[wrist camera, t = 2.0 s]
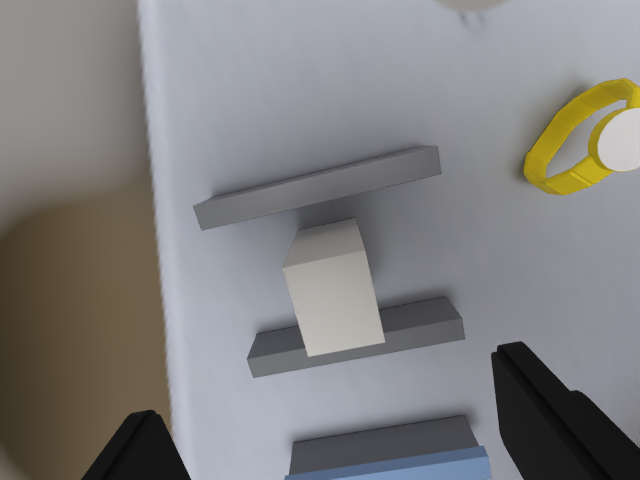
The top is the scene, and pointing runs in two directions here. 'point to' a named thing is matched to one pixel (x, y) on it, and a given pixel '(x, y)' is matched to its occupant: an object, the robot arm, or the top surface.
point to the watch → (590, 139)
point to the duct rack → (399, 333)
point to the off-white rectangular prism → (332, 289)
